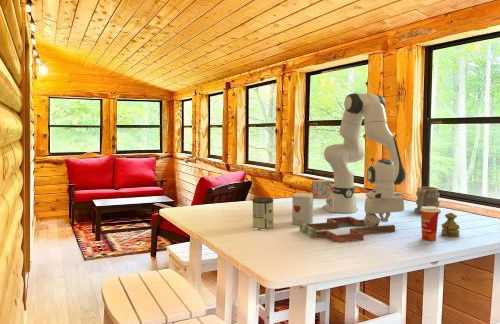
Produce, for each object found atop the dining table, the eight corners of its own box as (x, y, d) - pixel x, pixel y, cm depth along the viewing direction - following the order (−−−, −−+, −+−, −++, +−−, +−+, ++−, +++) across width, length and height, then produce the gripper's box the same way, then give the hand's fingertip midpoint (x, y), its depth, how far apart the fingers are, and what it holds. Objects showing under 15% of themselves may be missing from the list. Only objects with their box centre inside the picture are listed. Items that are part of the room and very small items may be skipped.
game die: (375, 237, 202) (383, 223, 196) (358, 230, 203) (365, 216, 197) (377, 224, 209) (385, 211, 202) (360, 218, 210) (368, 204, 204)
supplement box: (291, 224, 213) (291, 195, 212) (296, 220, 222) (296, 192, 221) (309, 226, 210) (309, 196, 209) (313, 222, 219) (313, 193, 217)
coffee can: (256, 224, 214) (256, 197, 213) (275, 226, 211) (275, 198, 210) (249, 229, 205) (249, 200, 204) (270, 230, 201) (269, 201, 200)
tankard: (421, 209, 250) (421, 183, 249) (443, 212, 241) (443, 185, 240) (405, 214, 236) (406, 187, 235) (428, 217, 227) (429, 189, 226)
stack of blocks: (342, 197, 292) (343, 179, 291) (344, 199, 286) (344, 181, 285) (311, 197, 293) (311, 179, 292) (312, 199, 287) (312, 181, 286)
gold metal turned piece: (458, 237, 186) (459, 215, 185) (440, 235, 190) (440, 213, 189) (460, 234, 192) (461, 212, 192) (442, 232, 196) (443, 210, 196)
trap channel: (293, 227, 209) (293, 219, 208) (367, 220, 220) (367, 213, 220) (321, 244, 178) (321, 234, 178) (406, 235, 190) (406, 227, 190)
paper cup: (416, 237, 188) (416, 206, 187) (432, 236, 189) (433, 205, 187) (424, 241, 180) (425, 209, 179) (442, 241, 181) (443, 209, 180)
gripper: (399, 191, 210) (398, 218, 211) (362, 193, 204) (362, 221, 205) (407, 193, 204) (406, 221, 205) (370, 195, 198) (369, 224, 199)
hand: (384, 221), depth 205 cm, fingers closed
